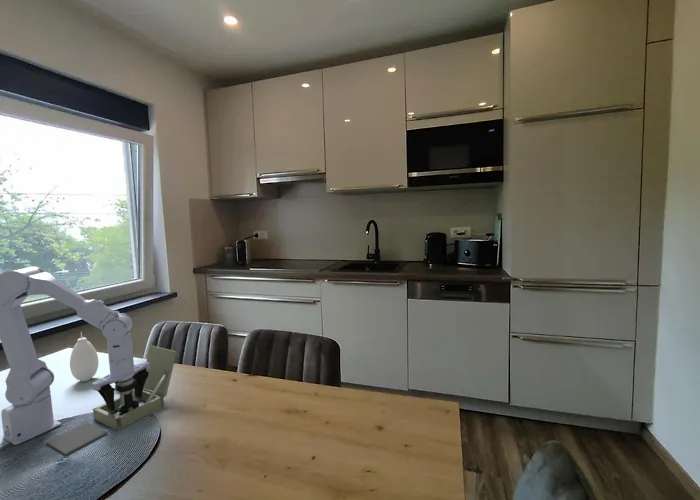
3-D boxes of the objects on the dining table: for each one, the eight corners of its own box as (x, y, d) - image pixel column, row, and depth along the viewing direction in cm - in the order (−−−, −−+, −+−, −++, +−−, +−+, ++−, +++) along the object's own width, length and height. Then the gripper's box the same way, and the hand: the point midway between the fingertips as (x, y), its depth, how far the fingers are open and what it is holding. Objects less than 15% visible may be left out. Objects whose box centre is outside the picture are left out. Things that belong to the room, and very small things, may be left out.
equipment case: (117, 430, 89) (112, 375, 87) (93, 419, 94) (88, 367, 93) (180, 397, 105) (176, 350, 104) (157, 389, 111) (153, 344, 109)
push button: (119, 422, 92) (116, 388, 91) (108, 418, 95) (105, 384, 94) (143, 410, 98) (140, 377, 97) (132, 406, 101) (129, 374, 100)
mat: (65, 455, 80) (65, 453, 80) (46, 443, 84) (46, 441, 84) (107, 433, 88) (107, 431, 88) (87, 423, 92) (87, 422, 92)
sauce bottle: (76, 378, 120) (70, 329, 119) (102, 373, 124) (97, 326, 122) (68, 387, 113) (63, 336, 112) (96, 382, 117) (91, 332, 115)
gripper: (100, 370, 87) (105, 419, 88) (154, 350, 99) (158, 393, 101) (86, 365, 90) (91, 413, 91) (140, 346, 103) (144, 388, 104)
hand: (125, 402), depth 96 cm, fingers open, 7 cm apart
